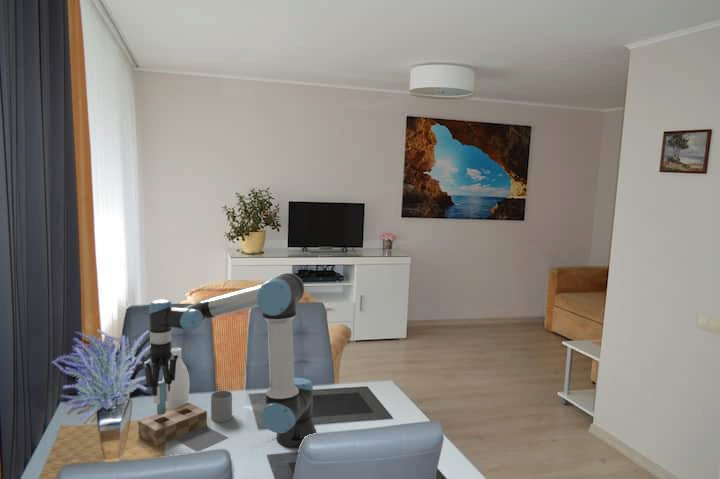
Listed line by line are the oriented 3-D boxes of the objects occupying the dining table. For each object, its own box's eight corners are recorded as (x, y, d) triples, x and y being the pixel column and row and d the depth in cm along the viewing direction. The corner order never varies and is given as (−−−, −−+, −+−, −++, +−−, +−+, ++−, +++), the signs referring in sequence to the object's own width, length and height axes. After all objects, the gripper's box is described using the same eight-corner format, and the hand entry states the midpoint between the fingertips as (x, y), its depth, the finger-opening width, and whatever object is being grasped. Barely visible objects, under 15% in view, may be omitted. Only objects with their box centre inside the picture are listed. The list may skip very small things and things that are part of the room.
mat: (228, 438, 204) (228, 437, 204) (197, 452, 193) (197, 451, 193) (206, 427, 212) (206, 426, 212) (174, 440, 202) (174, 439, 201)
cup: (226, 423, 216) (226, 399, 215) (207, 421, 217) (207, 397, 216) (235, 414, 224) (235, 391, 223) (217, 412, 226) (217, 389, 225)
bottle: (179, 399, 238) (178, 343, 235) (195, 405, 231) (194, 348, 228) (156, 407, 229) (156, 349, 226) (172, 414, 222) (172, 355, 219)
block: (206, 425, 214) (206, 411, 213) (156, 446, 197) (156, 430, 196) (188, 416, 221) (188, 402, 220) (138, 435, 204) (138, 420, 203)
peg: (167, 412, 204) (166, 382, 203) (159, 415, 202) (159, 384, 200) (162, 410, 206) (162, 380, 205) (155, 413, 204) (155, 382, 202)
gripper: (173, 334, 209) (174, 392, 212) (135, 343, 197) (136, 405, 199) (185, 338, 205) (185, 397, 207) (146, 348, 192) (147, 411, 195)
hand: (161, 401), depth 203 cm, fingers closed on peg, 3 cm apart
